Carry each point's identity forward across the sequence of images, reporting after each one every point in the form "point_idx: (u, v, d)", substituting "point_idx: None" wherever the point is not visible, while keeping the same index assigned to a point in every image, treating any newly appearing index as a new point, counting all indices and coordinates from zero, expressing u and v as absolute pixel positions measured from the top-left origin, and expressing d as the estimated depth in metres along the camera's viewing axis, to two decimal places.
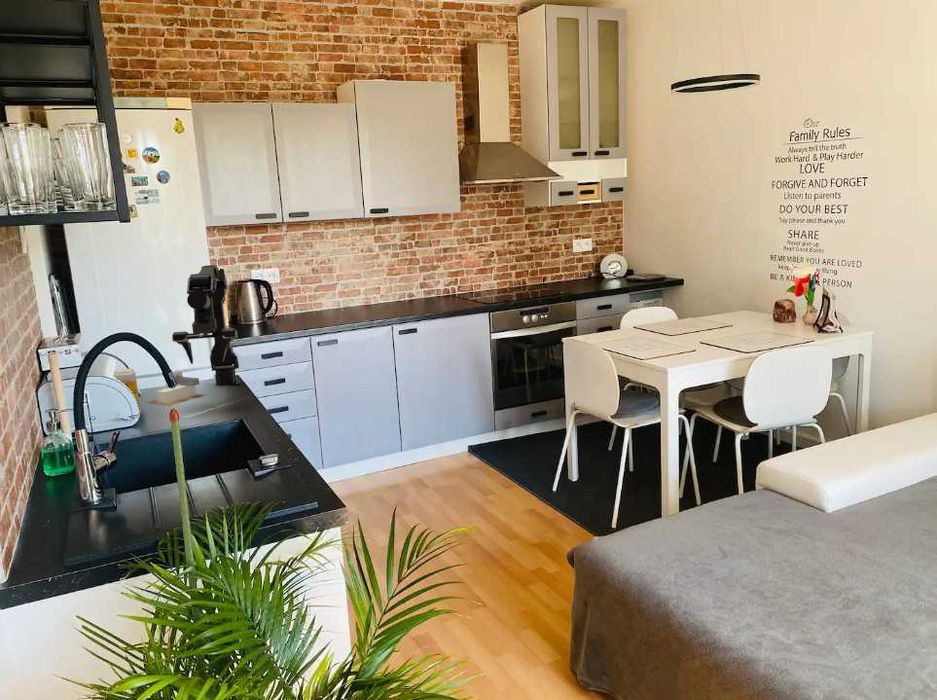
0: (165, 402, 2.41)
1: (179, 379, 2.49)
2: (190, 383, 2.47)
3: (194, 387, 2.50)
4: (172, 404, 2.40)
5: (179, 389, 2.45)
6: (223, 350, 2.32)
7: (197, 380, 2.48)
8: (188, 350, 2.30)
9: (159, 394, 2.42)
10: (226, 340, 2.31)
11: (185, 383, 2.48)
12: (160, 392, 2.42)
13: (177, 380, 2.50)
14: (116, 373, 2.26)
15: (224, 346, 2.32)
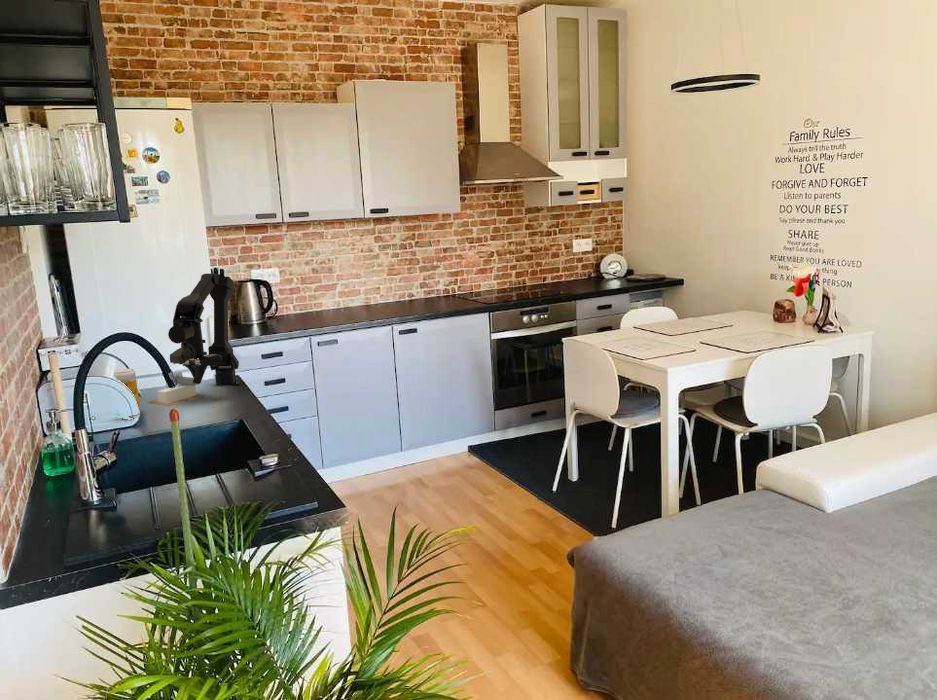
0: (165, 402, 2.41)
1: (179, 379, 2.49)
2: (190, 383, 2.47)
3: (194, 387, 2.50)
4: (172, 404, 2.40)
5: (179, 389, 2.45)
6: (196, 374, 2.45)
7: None
8: (192, 372, 2.45)
9: (159, 394, 2.42)
10: (194, 367, 2.42)
11: (185, 383, 2.48)
12: (160, 392, 2.42)
13: (176, 380, 2.50)
14: (116, 373, 2.26)
15: (196, 371, 2.44)
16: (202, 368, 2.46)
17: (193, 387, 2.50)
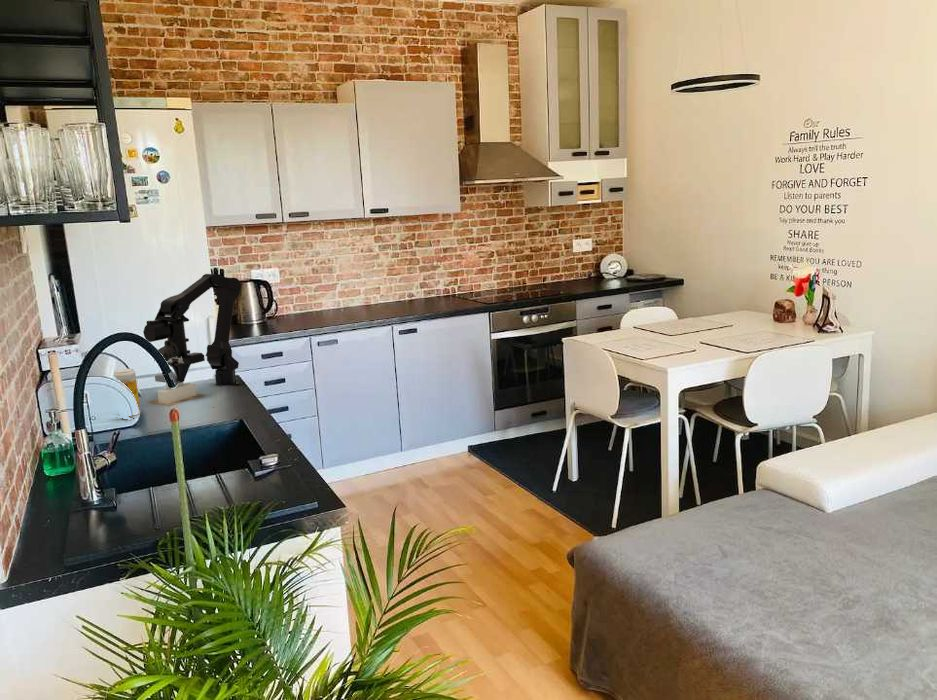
0: (165, 402, 2.41)
1: (163, 377, 2.53)
2: None
3: (194, 387, 2.50)
4: (172, 404, 2.40)
5: (179, 389, 2.45)
6: (179, 372, 2.49)
7: None
8: (176, 370, 2.49)
9: (159, 394, 2.42)
10: (178, 365, 2.46)
11: None
12: (160, 392, 2.42)
13: (161, 378, 2.54)
14: (116, 373, 2.26)
15: (179, 369, 2.48)
16: (185, 366, 2.50)
17: (193, 387, 2.50)
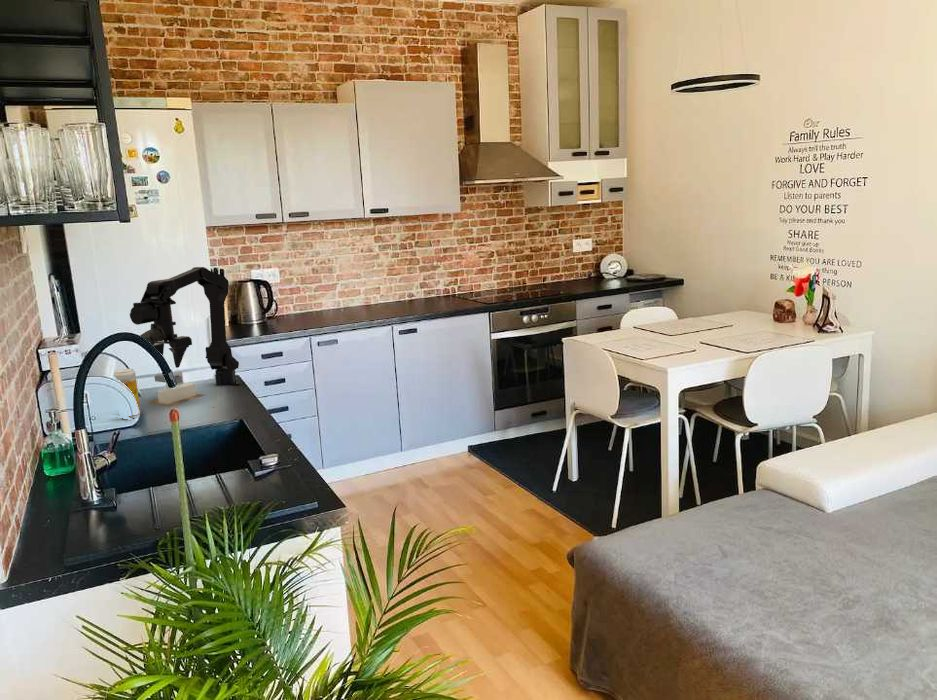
0: (165, 402, 2.41)
1: (162, 377, 2.53)
2: None
3: (194, 387, 2.50)
4: (172, 404, 2.40)
5: (179, 389, 2.45)
6: (175, 357, 2.39)
7: (180, 378, 2.52)
8: None
9: (159, 394, 2.42)
10: (173, 350, 2.37)
11: None
12: (160, 392, 2.42)
13: (160, 378, 2.54)
14: (116, 373, 2.26)
15: (174, 354, 2.39)
16: (181, 351, 2.40)
17: (193, 387, 2.50)
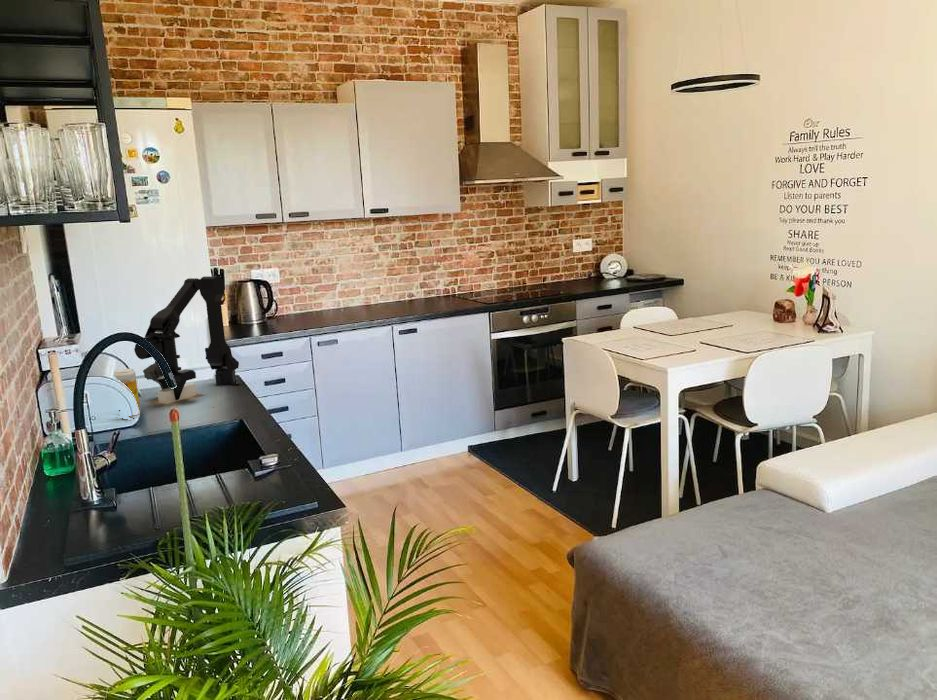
0: (165, 402, 2.41)
1: None
2: None
3: (194, 387, 2.50)
4: (172, 404, 2.40)
5: None
6: (174, 390, 2.43)
7: None
8: (162, 387, 2.45)
9: (159, 394, 2.42)
10: None
11: None
12: (160, 392, 2.42)
13: None
14: (116, 373, 2.26)
15: None
16: (180, 384, 2.44)
17: (193, 387, 2.50)
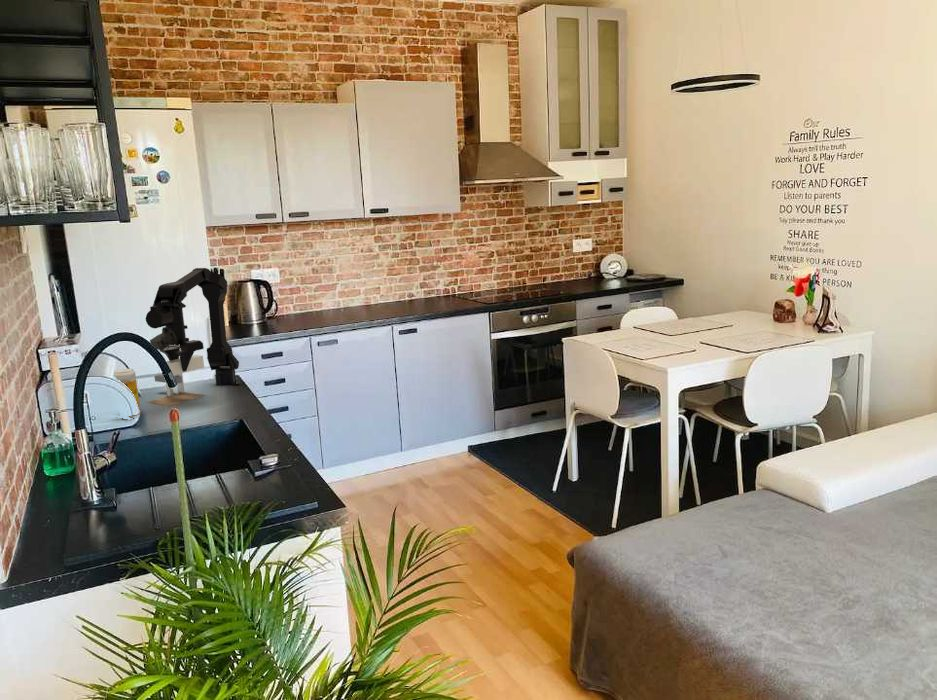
0: None
1: (162, 377, 2.53)
2: None
3: (201, 359, 2.45)
4: (172, 404, 2.40)
5: None
6: (182, 361, 2.38)
7: (180, 378, 2.52)
8: (169, 358, 2.40)
9: None
10: (179, 354, 2.35)
11: None
12: None
13: (160, 378, 2.54)
14: (116, 373, 2.26)
15: (181, 358, 2.37)
16: (188, 355, 2.39)
17: (201, 359, 2.45)
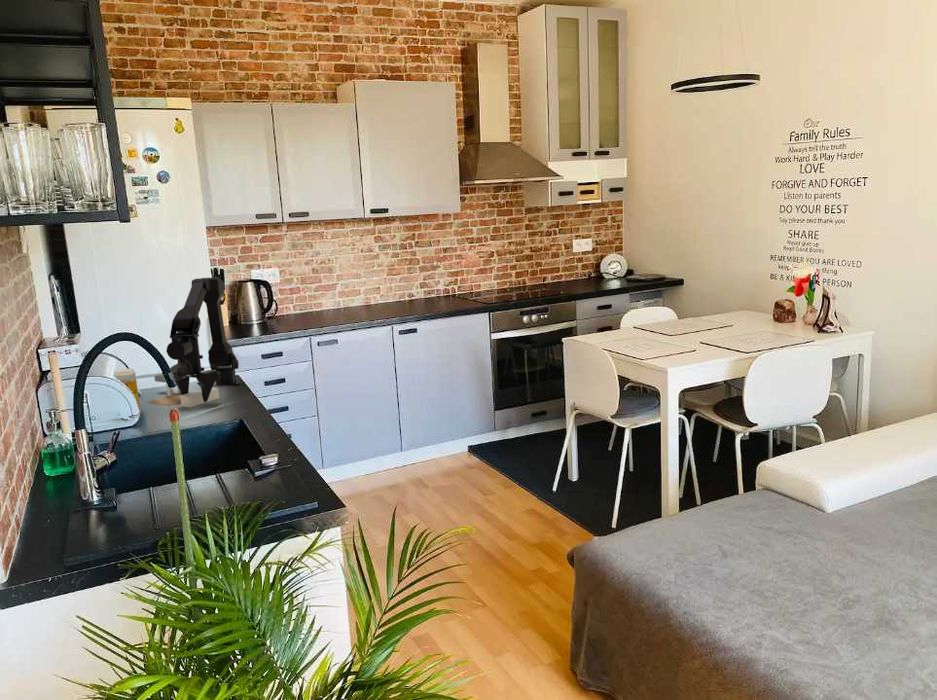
0: None
1: (162, 377, 2.53)
2: None
3: (217, 392, 2.45)
4: (172, 404, 2.40)
5: None
6: (203, 392, 2.36)
7: None
8: (180, 387, 2.41)
9: (182, 399, 2.37)
10: (201, 385, 2.33)
11: None
12: (183, 397, 2.36)
13: (160, 378, 2.54)
14: (116, 373, 2.26)
15: (202, 389, 2.35)
16: (209, 385, 2.37)
17: (216, 391, 2.45)
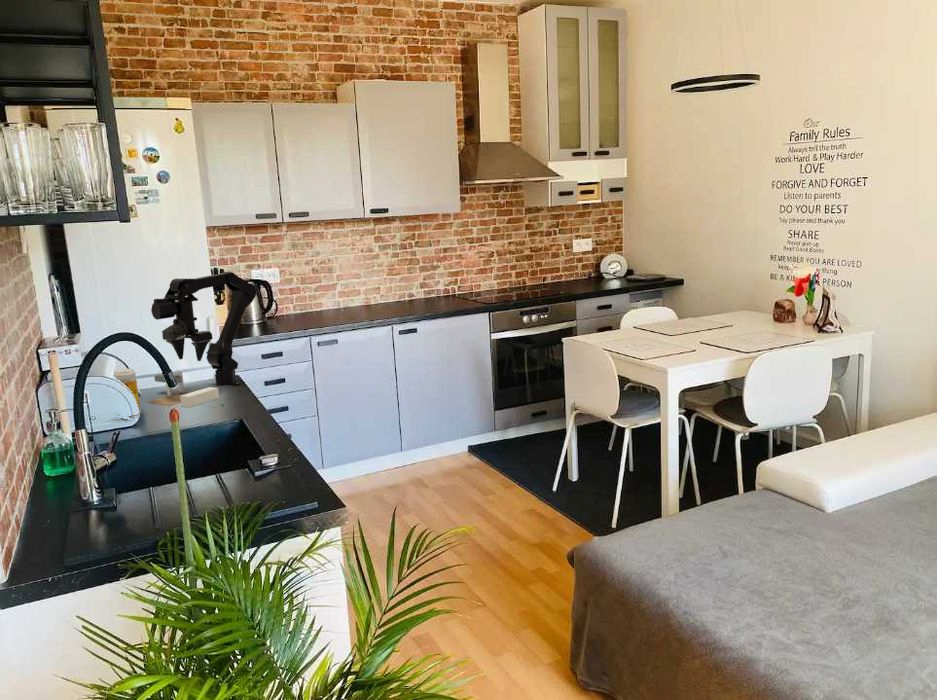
0: None
1: (162, 377, 2.53)
2: None
3: (217, 392, 2.45)
4: (172, 404, 2.40)
5: (202, 394, 2.40)
6: (197, 351, 2.51)
7: (180, 378, 2.52)
8: (175, 348, 2.56)
9: (182, 399, 2.37)
10: (195, 344, 2.49)
11: None
12: (183, 397, 2.36)
13: (160, 378, 2.54)
14: (116, 373, 2.26)
15: (196, 348, 2.51)
16: (202, 345, 2.53)
17: (216, 391, 2.45)
